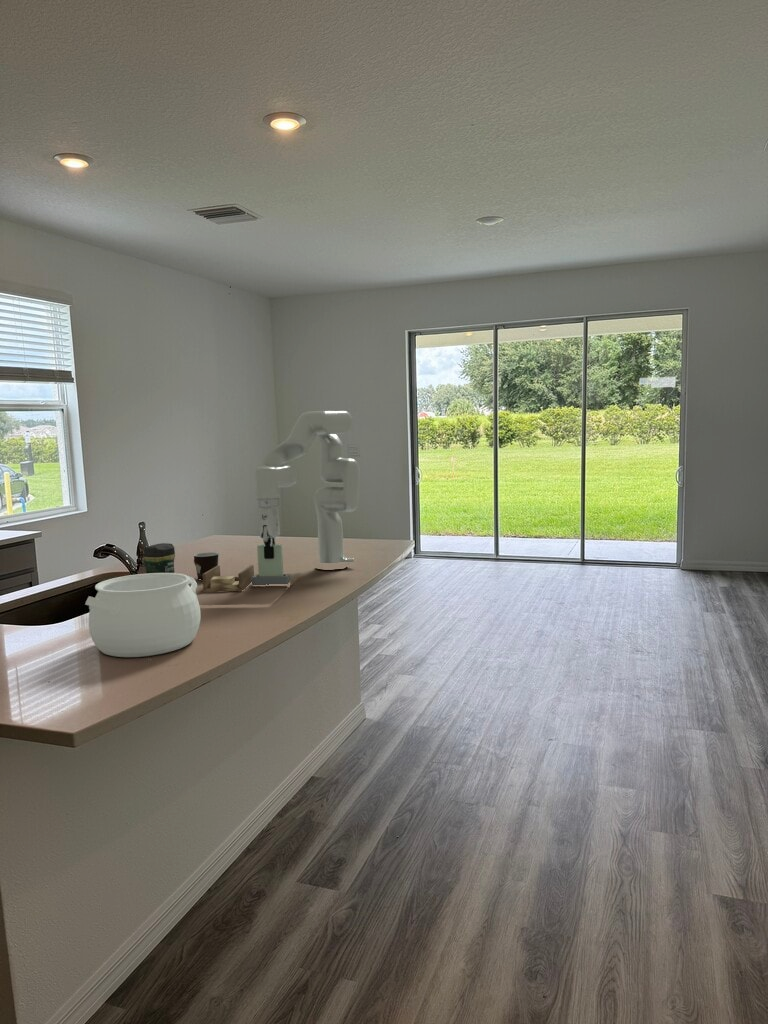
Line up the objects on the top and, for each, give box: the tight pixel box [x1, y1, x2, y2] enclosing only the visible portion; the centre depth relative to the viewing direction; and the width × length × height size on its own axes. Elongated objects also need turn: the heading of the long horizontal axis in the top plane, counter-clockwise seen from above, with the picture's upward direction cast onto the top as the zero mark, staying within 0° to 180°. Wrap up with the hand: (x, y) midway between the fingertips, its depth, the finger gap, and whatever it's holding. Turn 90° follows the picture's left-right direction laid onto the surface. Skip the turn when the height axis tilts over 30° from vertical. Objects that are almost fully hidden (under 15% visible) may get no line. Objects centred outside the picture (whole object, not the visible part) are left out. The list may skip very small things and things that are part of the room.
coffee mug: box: [193, 551, 219, 580], centre depth 252 cm, size 12×9×10 cm
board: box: [256, 543, 284, 577], centre depth 236 cm, size 8×2×11 cm, turn 85°
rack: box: [202, 564, 255, 593], centre depth 236 cm, size 13×15×7 cm
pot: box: [84, 573, 202, 658], centre depth 174 cm, size 29×26×16 cm
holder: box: [251, 573, 291, 586], centre depth 237 cm, size 12×6×4 cm, turn 85°
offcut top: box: [211, 575, 236, 585], centre depth 232 cm, size 7×4×2 cm, turn 90°
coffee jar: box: [143, 542, 176, 574], centre depth 221 cm, size 10×8×19 cm
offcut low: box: [211, 582, 239, 588], centre depth 233 cm, size 9×4×2 cm, turn 85°
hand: (270, 557), depth 236 cm, fingers closed on board, 2 cm apart
